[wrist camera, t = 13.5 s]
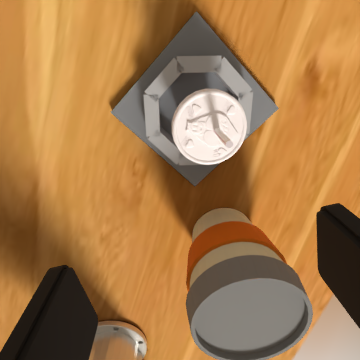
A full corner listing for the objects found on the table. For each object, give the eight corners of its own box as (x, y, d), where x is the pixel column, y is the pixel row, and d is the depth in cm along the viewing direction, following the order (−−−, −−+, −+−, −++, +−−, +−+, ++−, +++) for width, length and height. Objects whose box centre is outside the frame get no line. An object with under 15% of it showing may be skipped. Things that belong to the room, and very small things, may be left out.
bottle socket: (275, 107, 32) (289, 112, 28) (194, 183, 36) (197, 197, 32) (195, 12, 28) (199, 5, 24) (112, 110, 31) (105, 117, 28)
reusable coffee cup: (164, 244, 40) (163, 340, 26) (213, 180, 36) (242, 254, 22) (229, 277, 43) (258, 377, 29) (280, 222, 39) (342, 308, 25)
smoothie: (215, 142, 32) (253, 190, 19) (164, 134, 31) (168, 180, 19) (227, 87, 30) (279, 102, 17) (172, 78, 29) (182, 86, 16)
